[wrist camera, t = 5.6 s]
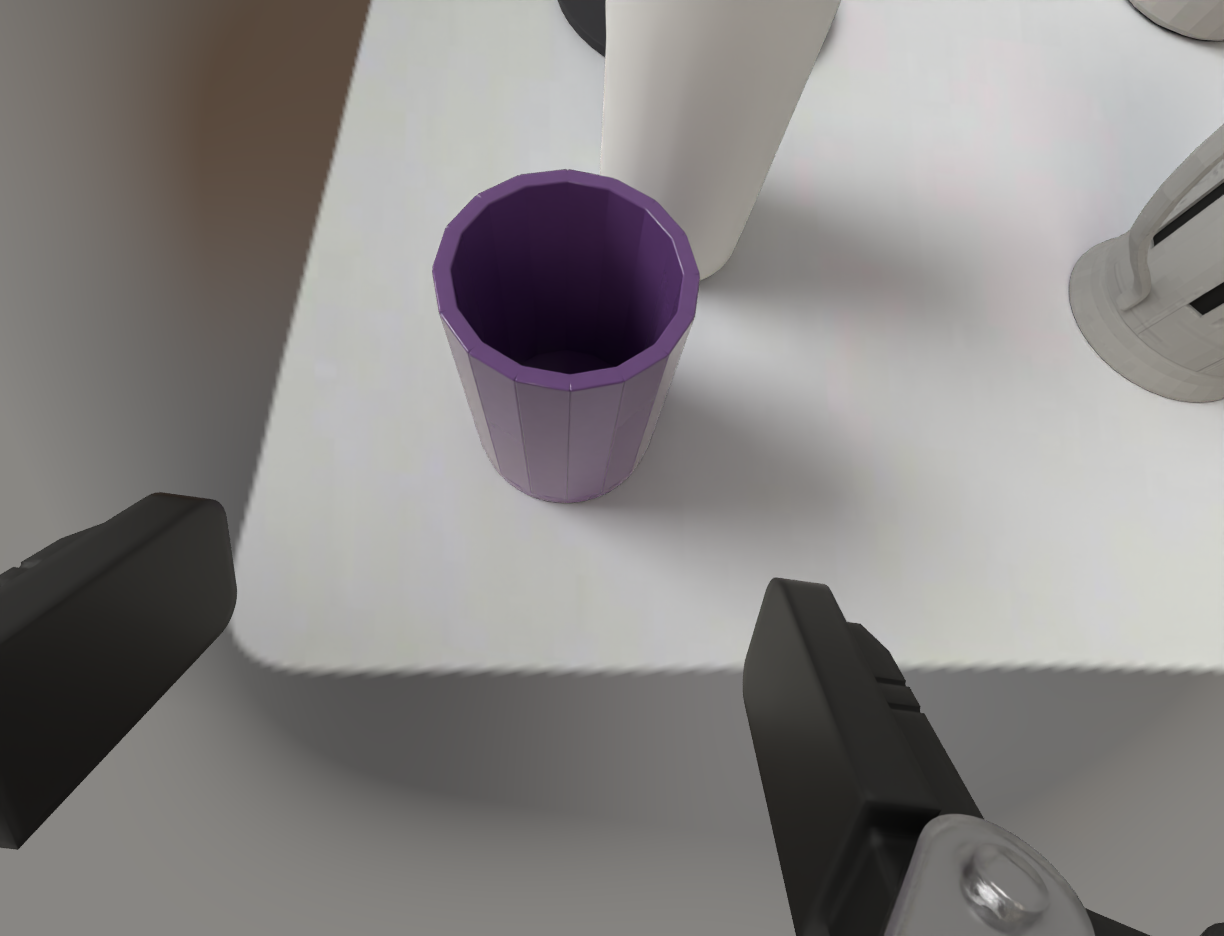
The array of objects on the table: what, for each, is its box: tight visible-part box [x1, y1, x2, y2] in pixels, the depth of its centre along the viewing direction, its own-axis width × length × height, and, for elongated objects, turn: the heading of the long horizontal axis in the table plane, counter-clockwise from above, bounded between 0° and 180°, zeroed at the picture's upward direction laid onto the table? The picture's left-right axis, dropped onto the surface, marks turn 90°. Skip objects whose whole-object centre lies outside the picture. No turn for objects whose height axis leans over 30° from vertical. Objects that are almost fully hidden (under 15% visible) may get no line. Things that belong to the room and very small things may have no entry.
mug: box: [600, 0, 841, 280], centre depth 22 cm, size 10×7×12 cm, turn 26°
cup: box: [432, 169, 700, 503], centre depth 19 cm, size 6×6×9 cm
